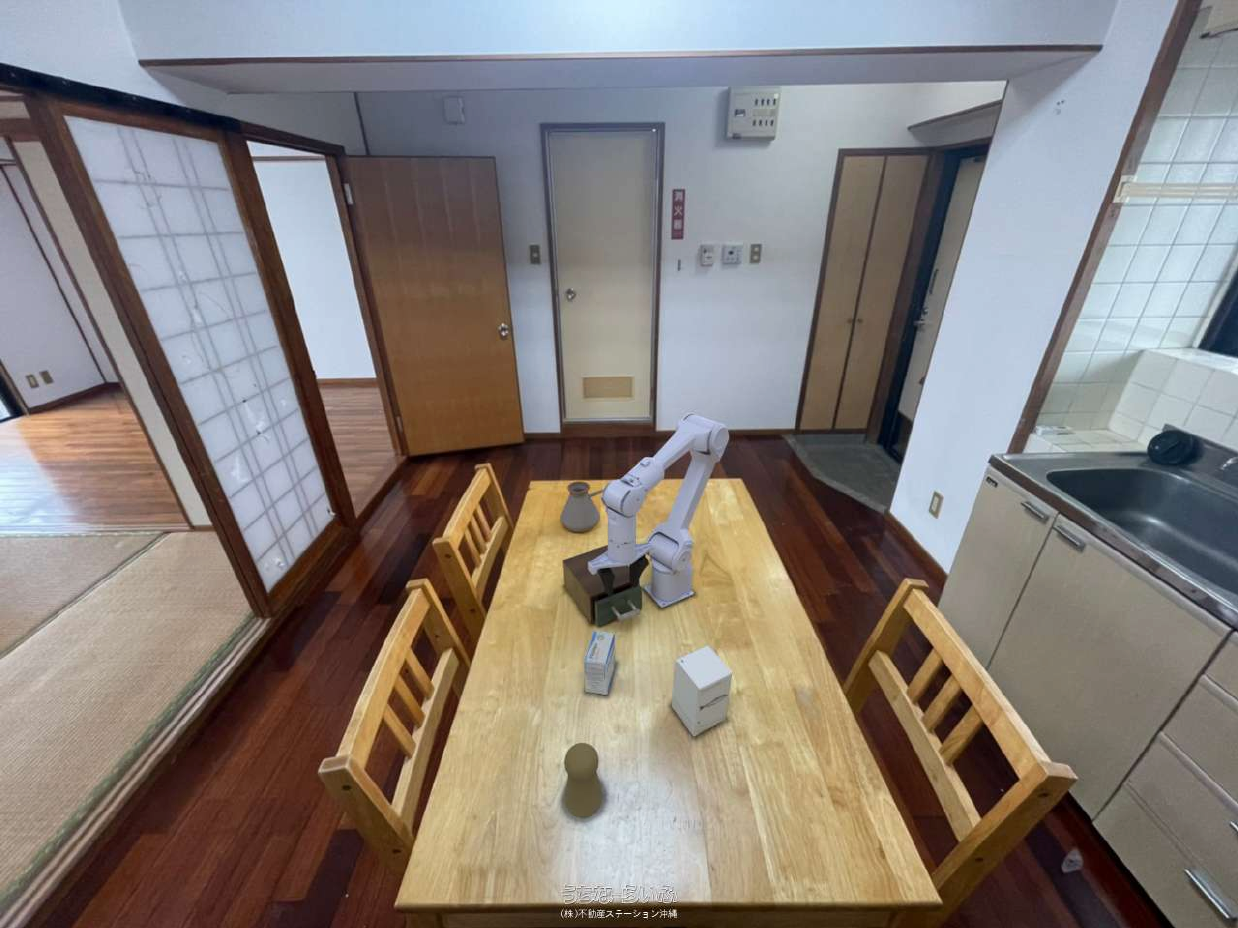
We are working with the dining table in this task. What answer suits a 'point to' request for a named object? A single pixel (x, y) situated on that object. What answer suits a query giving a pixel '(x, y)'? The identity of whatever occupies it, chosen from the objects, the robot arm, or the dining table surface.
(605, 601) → the drawer
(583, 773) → the brown pawn figure
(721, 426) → the robot arm
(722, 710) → the white packaging box
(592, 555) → the cabinet
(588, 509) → the coffee pot
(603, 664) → the medicine box
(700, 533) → the dining table surface
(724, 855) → the dining table surface
